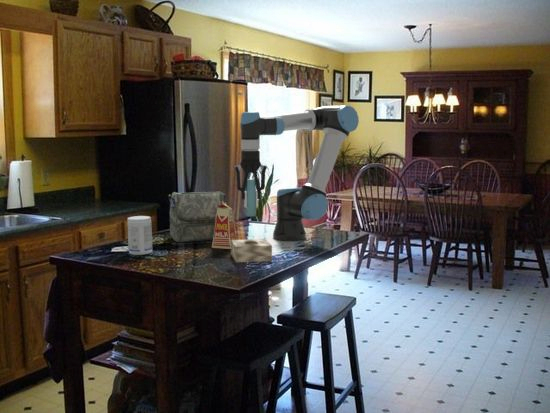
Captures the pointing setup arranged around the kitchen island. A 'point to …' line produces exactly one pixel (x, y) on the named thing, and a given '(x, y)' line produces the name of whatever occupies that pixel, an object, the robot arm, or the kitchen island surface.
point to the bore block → (251, 250)
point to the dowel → (250, 197)
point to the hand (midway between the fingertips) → (250, 207)
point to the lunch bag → (194, 215)
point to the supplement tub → (139, 235)
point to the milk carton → (224, 227)
